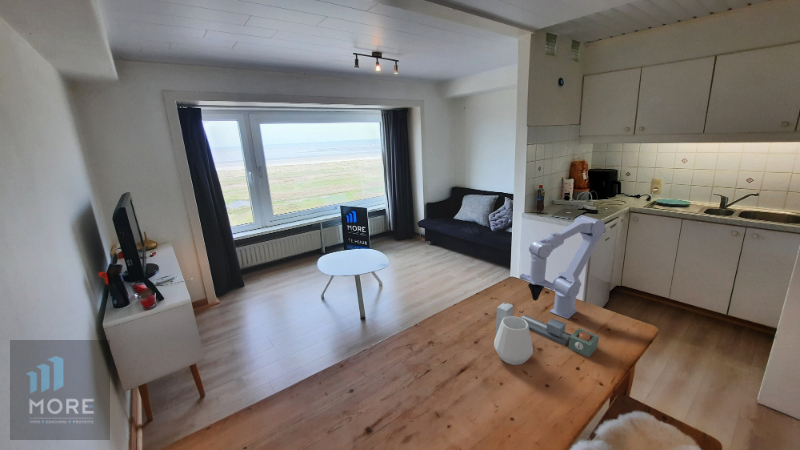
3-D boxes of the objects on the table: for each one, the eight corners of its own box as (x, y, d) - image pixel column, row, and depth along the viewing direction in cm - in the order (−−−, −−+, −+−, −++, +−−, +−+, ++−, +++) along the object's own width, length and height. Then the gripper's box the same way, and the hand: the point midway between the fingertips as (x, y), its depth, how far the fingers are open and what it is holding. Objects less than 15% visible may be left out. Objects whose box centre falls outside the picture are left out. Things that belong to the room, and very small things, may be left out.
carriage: (552, 327, 131) (553, 318, 130) (564, 332, 128) (565, 323, 126) (546, 331, 128) (547, 323, 127) (558, 337, 124) (559, 328, 123)
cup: (489, 362, 115) (491, 328, 111) (497, 340, 126) (499, 309, 123) (529, 373, 109) (533, 338, 105) (534, 350, 120) (537, 317, 116)
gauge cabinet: (577, 339, 126) (579, 328, 124) (597, 347, 121) (599, 336, 119) (567, 348, 121) (569, 337, 119) (588, 358, 115) (589, 345, 114)
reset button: (580, 340, 123) (581, 330, 122) (590, 344, 120) (592, 334, 119) (576, 344, 120) (577, 334, 119) (586, 348, 118) (587, 339, 117)
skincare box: (505, 338, 128) (506, 311, 124) (494, 334, 131) (496, 307, 127) (512, 331, 132) (514, 305, 128) (502, 327, 135) (504, 301, 131)
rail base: (525, 317, 141) (525, 313, 141) (572, 338, 126) (573, 333, 126) (516, 323, 137) (516, 319, 136) (564, 345, 122) (565, 340, 122)
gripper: (516, 267, 137) (514, 296, 140) (550, 278, 126) (547, 309, 130) (525, 263, 141) (523, 291, 145) (559, 273, 130) (555, 303, 134)
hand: (535, 299), depth 137 cm, fingers closed
